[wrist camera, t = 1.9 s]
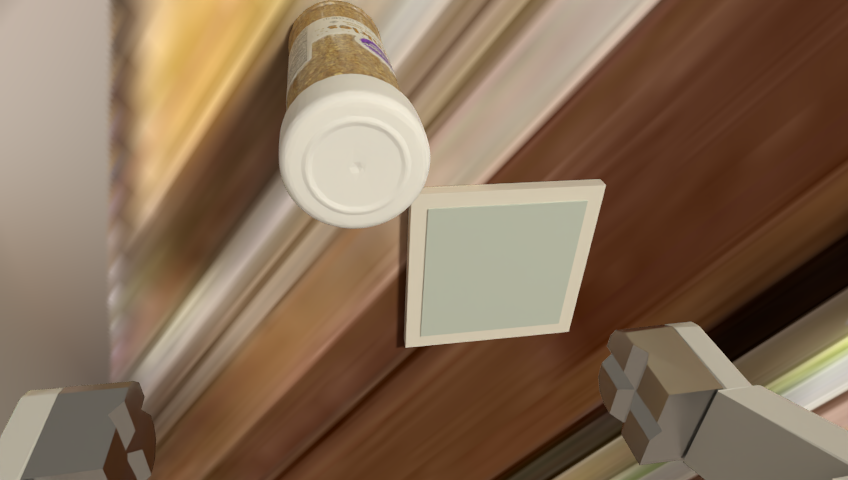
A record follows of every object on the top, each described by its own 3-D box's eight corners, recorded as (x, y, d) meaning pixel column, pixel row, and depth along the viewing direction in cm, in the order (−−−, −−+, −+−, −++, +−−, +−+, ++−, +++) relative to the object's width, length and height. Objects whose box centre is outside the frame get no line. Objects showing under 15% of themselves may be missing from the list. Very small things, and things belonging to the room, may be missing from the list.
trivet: (600, 179, 35) (606, 185, 34) (564, 324, 41) (569, 332, 41) (409, 187, 33) (411, 195, 32) (403, 339, 39) (405, 348, 38)
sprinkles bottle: (396, 26, 27) (461, 134, 16) (355, 107, 29) (390, 252, 18) (309, -22, 26) (316, 65, 15) (271, 68, 27) (253, 204, 16)
